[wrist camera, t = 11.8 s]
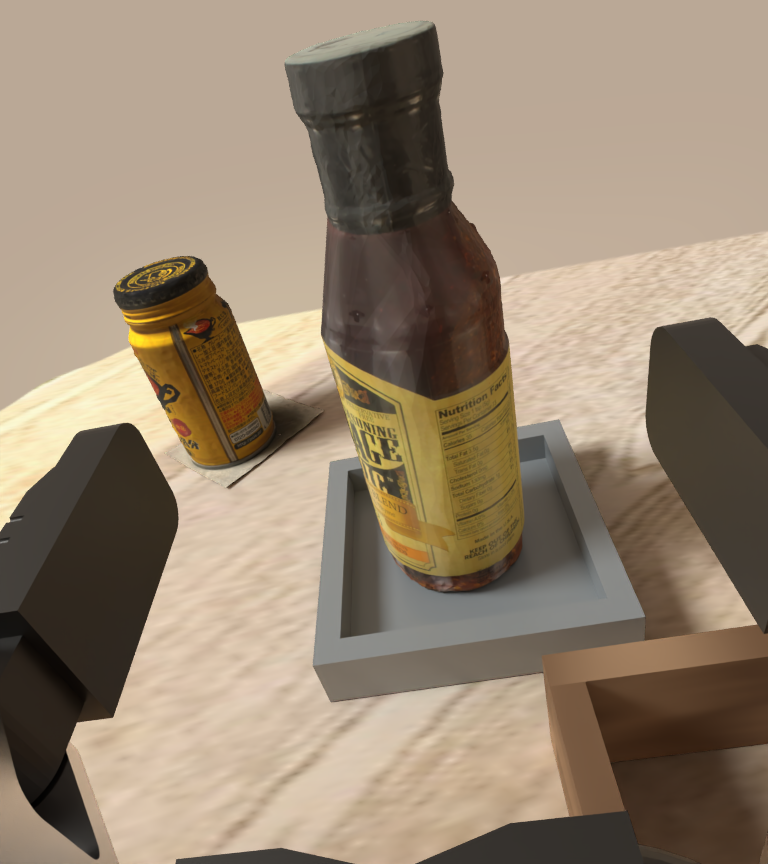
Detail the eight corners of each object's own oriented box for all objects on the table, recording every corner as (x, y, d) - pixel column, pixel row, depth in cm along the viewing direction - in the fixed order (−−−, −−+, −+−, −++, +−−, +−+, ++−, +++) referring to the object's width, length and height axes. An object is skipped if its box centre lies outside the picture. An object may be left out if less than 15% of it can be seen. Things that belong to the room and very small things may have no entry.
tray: (330, 702, 24) (312, 665, 23) (342, 496, 34) (330, 461, 32) (643, 658, 23) (645, 617, 21) (561, 457, 32) (559, 419, 31)
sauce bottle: (378, 521, 30) (235, 62, 19) (499, 483, 30) (430, 8, 19) (410, 628, 25) (237, 76, 13) (556, 581, 25) (510, 1, 14)
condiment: (165, 455, 41) (75, 291, 34) (260, 390, 46) (197, 232, 39) (227, 491, 37) (137, 309, 30) (326, 414, 41) (268, 240, 34)
